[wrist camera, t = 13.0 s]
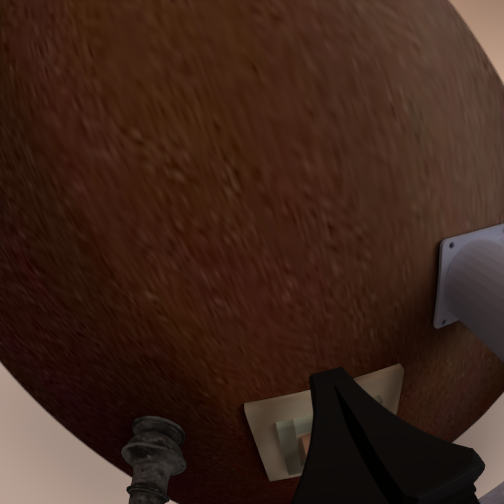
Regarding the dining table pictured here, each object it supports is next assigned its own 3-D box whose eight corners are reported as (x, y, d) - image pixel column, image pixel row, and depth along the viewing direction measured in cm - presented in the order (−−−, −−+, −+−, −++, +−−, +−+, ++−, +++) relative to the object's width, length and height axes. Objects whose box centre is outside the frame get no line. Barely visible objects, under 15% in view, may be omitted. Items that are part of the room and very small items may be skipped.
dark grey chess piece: (174, 454, 26) (165, 552, 15) (121, 433, 24) (97, 532, 13) (198, 429, 24) (194, 543, 13) (139, 405, 23) (112, 522, 12)
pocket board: (399, 363, 24) (408, 375, 22) (384, 444, 28) (389, 455, 27) (244, 403, 23) (245, 418, 22) (269, 474, 28) (270, 486, 26)
